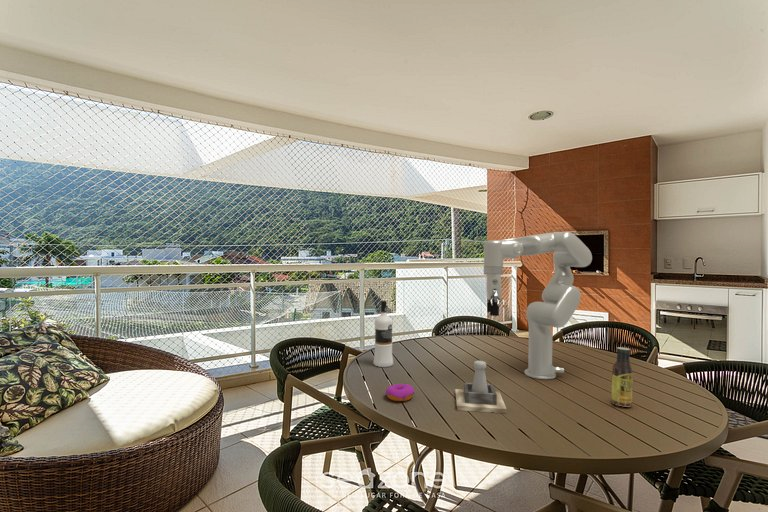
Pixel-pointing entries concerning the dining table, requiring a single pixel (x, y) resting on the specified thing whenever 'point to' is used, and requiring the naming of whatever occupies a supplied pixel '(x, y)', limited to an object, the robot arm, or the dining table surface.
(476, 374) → the salt shaker
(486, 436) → the dining table surface
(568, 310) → the robot arm
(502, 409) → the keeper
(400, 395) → the donut
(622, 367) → the sauce bottle
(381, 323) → the vodka
